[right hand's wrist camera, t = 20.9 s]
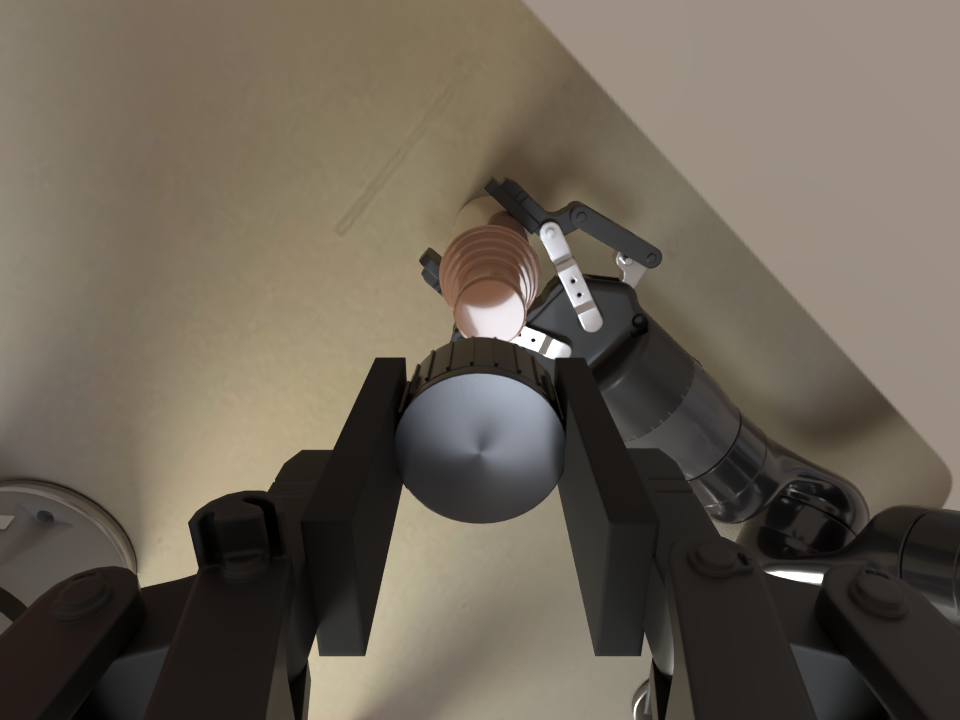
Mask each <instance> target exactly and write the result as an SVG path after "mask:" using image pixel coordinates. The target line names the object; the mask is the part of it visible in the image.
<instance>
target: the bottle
mask: <svg viewBox="0 0 960 720" xmlns="http://www.w3.org/2000/svg"><path fill="white" fill-rule="evenodd" d="M439 281H440V286H441V290H442V293H443V296H444V299H445V301H446V303H447V304H448V306H449V307H450V308H451V310H452V311H453V315H454V320H455V324H456V326H457V328H458V330H459V332H460V333H461V334H462V335H463V336H464V337H465V338H471V336H475V337H489V338H494V337H497V339H500V340H504V341H507V342H510V343H511V342H512V341H513V340H514V339H516V338H517V337H518V336H519V335H520V333H521V332H522V331H523V329H524V327H525V324H526V322H527V321H526V316H527V310H528V309H529V308H530V306H531V305H532V303H533V302H534V300H535V298H536V295H537V292H538V288H539V283H540V265H539V261H538V258H537V255H536V253H535V250H534V248H533V245H532V243H531V240H530V238H529V235H528V233H527V230H526V228H525V227H524V226H523V225H522V224H521V223H520V222H519V221H518V220H516V219H515V218H514V217H513V216H512V215H511V214H510V213H509V212H508V211H507V210H506V209H505V208H504V207H503V206H502V205H501V204H500V203H499V202H497V201H496V200H495V199H494V198H493V197H492V196H483V197H479V198H476V199H474V200H472V201H470V202H469V203H467V204H466V205H465V206H464V207H463V208H462V209H461V210H460V212H459V214H458V215H457V217H456V220H455V223H454V225H453V228H452V231H451V234H450V237H449V240H448V242H447V245H446V248H445V251H444V254H443V257H442V260H441V263H440V269H439Z"/></svg>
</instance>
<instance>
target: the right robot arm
mask: <svg viewBox="0 0 960 720" xmlns="http://www.w3.org/2000/svg"><path fill="white" fill-rule="evenodd" d="M406 383H407V378H406V359H405V358H375V360H374V363H373V365H372V367H371V369H370V371H369V373H368V375H367V378H366V380H365V382H364V384H363V386H362V388H361V391H360V393H359V395H358V397H357V399H356V401H355V404H354V406H353V408H352V410H351V412H350V414H349V417H348V419H347V421H346V423H345V425H344V427H343V429H342V432H341V434H340V436H339V438H338V440H337V442H336V445H335V447H334V449H333V450H301V451H300V452H299V453H298V454H296V455H295V456H294V457H292V458H291V459H290V460H288V461H287V462H286V463H284V465H283V467H282V468H281V470H280V472H279V473H278V475H277V477H276V478H275V482H273V484H272V485H271V487H270V489H269V490H268V492H265V491H241V492H237V493H232V494H227V495H225V496H222V497H220V498H218V499H215V500H213V501H211V502H209V503H208V504H206V505H205V506H203V507H202V508H201V509H199V510H198V511H196V513H195V514H194V515H193V517H192V518H191V519H190V521H189V522H188V524H189V529H190V533H191V537H192V541H193V546H194V550H195V554H196V558H197V563H198V567H199V569H198V572H197V574H195V575H192V576H189V577H186V578H182V579H179V580H175V581H170V582H166V583H161V584H157V585H152V586H148V587H144V588H140V584H139V581H138V577H137V576H136V561H135V556H134V553H133V550H132V547H131V545H130V542H129V540H128V539H127V537H126V535H125V534H124V532H123V531H122V529H121V528H120V527H119V526H118V524H117V523H116V522H115V521H114V520H113V519H112V518H111V517H110V516H109V515H108V514H107V513H106V512H105V511H103V510H102V509H101V508H100V507H98V506H97V505H96V504H94V503H93V502H91V501H89V500H88V499H86V498H84V497H83V496H81V495H79V494H77V493H75V492H72V491H70V490H68V489H65V488H62V487H60V486H56V485H53V484H49V483H44V482H38V481H30V480H13V481H5V482H0V720H307V719H308V708H309V697H310V686H311V677H310V670H309V664H308V656H309V653H310V650H311V647H312V644H313V641H314V638H315V635H316V636H317V642H318V649H319V656H365V654H366V650H367V645H368V641H369V636H370V632H371V627H372V622H373V618H374V613H375V609H376V604H377V600H378V595H379V591H380V586H381V581H382V577H383V572H384V568H385V563H386V559H387V554H388V550H389V545H390V540H391V536H392V531H393V527H394V522H395V518H396V513H397V508H398V504H399V499H400V495H401V490H402V486H403V482H402V480H401V478H400V476H399V474H398V472H397V466H396V451H395V434H394V433H395V428H396V425H397V421H398V418H399V415H398V414H397V412H398V409H399V406H400V403H401V400H402V396H403V393H404V390H405V387H406ZM553 387H554V388H555V390H556V394H557V397H558V401H559V404H560V408H561V411H562V414H563V418H564V422H563V424H564V428H565V432H566V445H565V460H564V470H563V473H562V475H561V478H560V479H559V481H558V483H557V484H558V489H559V493H560V498H561V502H562V507H563V511H564V516H565V521H566V525H567V530H568V534H569V539H570V543H571V548H572V552H573V557H574V562H575V566H576V571H577V575H578V580H579V584H580V589H581V593H582V598H583V603H584V607H585V612H586V616H587V621H588V625H589V630H590V635H591V639H592V644H593V648H594V653H595V656H641V652H642V645H643V638H644V631H645V634H646V637H647V640H648V643H649V646H650V649H651V652H652V656H653V657H652V664H651V670H650V677H649V683H648V689H647V696H646V702H645V709H644V714H648V715H651V712H652V718H653V720H960V631H959V630H958V629H957V628H956V627H955V626H954V625H953V624H952V623H951V622H950V621H949V620H948V619H947V618H946V617H945V616H944V615H943V614H942V613H941V612H940V611H939V610H938V609H937V608H936V607H935V606H934V605H933V604H932V603H930V602H929V601H928V600H927V599H926V598H925V597H924V596H923V595H922V594H921V593H919V592H918V591H917V590H916V589H914V588H913V587H912V586H910V585H909V584H908V583H907V582H905V581H903V580H901V579H899V578H897V577H895V576H893V575H891V574H889V573H887V572H885V571H882V570H879V569H875V568H872V567H869V566H866V565H856V564H842V565H837V566H832V567H831V568H830V569H829V570H828V571H827V572H825V573H824V575H823V579H822V582H821V586H818V585H814V584H809V583H805V582H800V581H796V580H792V579H787V578H783V577H779V576H776V575H772V574H769V573H766V572H764V571H762V568H761V566H760V565H759V563H758V562H757V560H756V559H755V557H754V556H753V555H752V554H751V553H750V552H748V551H747V550H746V549H745V548H743V547H742V546H741V545H739V544H737V543H735V542H733V541H731V540H729V539H726V538H724V537H721V536H720V534H719V533H718V531H717V529H716V528H715V526H714V524H713V523H712V521H711V519H710V517H709V516H708V514H707V512H706V511H705V509H704V507H703V506H702V504H701V502H700V501H699V499H698V497H697V496H696V494H695V493H693V489H692V487H691V486H690V484H689V482H688V481H687V480H686V479H685V475H684V474H683V472H682V470H681V469H680V467H679V465H678V464H677V462H676V461H675V460H673V459H672V458H671V457H669V456H668V455H667V454H665V453H664V452H663V451H661V450H660V449H659V448H626V446H625V444H624V442H623V439H622V437H621V435H620V433H619V431H618V429H617V426H616V424H615V422H614V420H613V418H612V416H611V414H610V411H609V409H608V407H607V405H606V403H605V401H604V398H603V396H602V394H601V392H600V390H599V388H598V385H597V383H596V381H595V379H594V377H593V375H592V373H591V370H590V368H589V366H588V364H587V362H586V360H585V358H555V366H554V385H553Z"/></svg>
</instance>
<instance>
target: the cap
mask: <svg viewBox="0 0 960 720" xmlns="http://www.w3.org/2000/svg"><path fill="white" fill-rule="evenodd" d="M397 414H398V415H399V418H398V421H397V425H396V428H395V433H394V434H395V451H396V466H397V472H398V474H399V476H400V478H401V480H402V482H403V484H404V485H405V487H406V488H407V489H408V491H409V492H410V493H411V494H412V495H413V496H414V497H415V499H417V500H418V501H419V502H420V503H421V504H422V505H424V506H425V507H427V508H428V509H430V510H431V511H433V512H435V513H437V514H439V515H441V516H444V517H446V518H449V519H452V520H456V521H460V522H466V523H477V524H485V523H495V522H501V521H505V520H509V519H512V518H515V517H517V516H520V515H522V514H524V513H526V512H528V511H529V510H531V509H533V508H534V507H536V506H537V505H538V504H539V503H541V502H542V501H543V500H544V499H545V498H546V497H547V496H548V495H549V494H550V493H551V491H552V490H553V489H554V488H555V486H556V484H557V483H558V481H559V479H560V478H561V475H562V473H563V470H564V460H565V445H566V432H565V428H564V424H563V422H564V418H563V414H562V411H561V408H560V404H559V401H558V397H557V394H556V390H555V388H554V387H553V384H552V381H551V378H550V374H549V371H548V370H545V369H544V368H543V366H542V365H541V364H540V363H539V362H538V361H537V360H536V356H535V355H534V354H533V355H531V354H530V353H528V352H527V351H526V350H524V349H522V348H521V347H519V346H518V344H517V343H515V344H512V343H510V342H507V341H504V340H500V339H497V337H494V338H489V337H475V336H471V338H465V339H461V340H457V341H453V340H452V341H450V343H448V344H446V345H444V346H442V347H440V348H438V349H437V350H436V351H434V350H432V351H431V353H430V355H429V356H428V357H427V358H426V359H424V360H423V362H422V363H421V364H420V365H419V364H417V365H416V368H415V372H414V374H413V376H412V378H411V380H410V381H407V383H406V387H405V390H404V393H403V396H402V400H401V403H400V406H399V409H398V412H397Z"/></svg>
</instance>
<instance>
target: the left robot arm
mask: <svg viewBox="0 0 960 720" xmlns="http://www.w3.org/2000/svg"><path fill="white" fill-rule="evenodd" d="M484 189H485V190H486V191H487V192H488V193H489V194H490V195H491V196H492V197H493V198H494V199H495V200H496V201H497V202H499V203H500V204H501V205H502V206H503V207H504V208H505V209H506V210H507V211H508V212H509V213H510V214H511V215H512V216H513V217H514V218H515V219H516V220H518V221H519V222H520V223H521V224H522V225H523V226H524V227H525V228H526V229H527V230H528V231H529V232H530V233H531V234H533V233H534V232H535V233H536V234H537V235H538V236H539V237H540V238H541V240H542V242H543V244H544V246H545V248H546V250H547V252H548V255H549V257H550V259H551V261H552V263H553V265H554V267H555V270H556V272H557V274H558V277H557V276H556V275H555V276H554V277H553V278H552V279H551V280H550V281H549V282H548V283H547V285H546V287H545V288H544V290H543V292H542V293H541V295H540V296H538V297H536V298H535V300H534V302H533V303H532V305H531V306H530V308H529V309H528V310H527V316H526V321H527V322H526V324H525V327H524V329H523V331H522V332H521V333H520V335H519V336H518V337H517V338H516V339H514V340H513V341H512V342H513V343H517V344H518V345H521V346H522V349H524V350H526V351H527V352H528V353H530V354H531V355H533V354H534V355H535V356H536V360H537V361H538V362H539V363H540V364H541V365H542V366H543V368H544V369H545V370H548V371H549V374H550V378H551V381H552V384H553V385H554V366H555V358H585V360H586V362H587V364H588V366H589V368H590V370H591V373H592V375H593V377H594V379H595V381H596V383H597V385H598V388H599V390H600V392H601V394H602V396H603V398H604V401H605V403H606V405H607V407H608V409H609V411H610V414H611V416H612V418H613V420H614V422H615V424H616V426H617V429H618V431H619V433H620V435H621V437H622V439H623V442H624V444H625V446H626V448H659V449H660V450H661V451H663V452H664V453H665V454H667V455H668V456H669V457H671V458H672V459H673V460H675V461H676V462H677V464H678V465H679V467H680V469H681V470H682V472H683V474H684V475H685V479H686V480H687V481H688V482H689V484H690V486H691V487H692V489H693V493H695V494H696V496H697V497H698V499H699V501H700V502H701V504H702V506H703V507H704V509H705V511H706V512H707V514H708V516H709V517H710V519H711V520H712V521H715V522H718V523H722V524H737V523H741V522H744V521H745V523H744V525H743V527H742V529H741V531H740V533H739V535H738V537H737V539H736V541H735V543H737V544H739V545H741V546H742V547H743V548H745V549H746V550H747V551H748V552H750V553H751V554H752V555H753V556H754V557H755V559H756V560H757V562H758V563H759V565H760V566H761V568H762V571H764V572H766V573H769V574H772V575H776V576H779V577H783V578H787V579H792V580H796V581H800V582H805V583H809V584H814V585H818V586H821V582H822V579H823V575H824V573H825V572H827V571H828V570H829V569H830V568H831V567H832V566H837V565H842V564H856V565H866V566H869V567H872V568H875V569H879V570H882V571H885V572H887V573H889V574H891V575H893V576H895V577H897V578H899V579H901V580H903V581H905V582H907V583H908V584H909V585H910V586H912V587H913V588H914V589H916V590H917V591H918V592H919V593H921V594H922V595H923V596H924V597H925V598H926V599H927V600H928V601H929V602H930V603H932V604H933V605H934V606H935V607H936V608H937V609H938V610H939V611H940V612H941V613H942V614H943V615H944V616H945V617H946V618H947V619H948V620H949V621H950V622H951V623H952V624H953V625H954V626H955V627H956V628H957V629H958V630H959V631H960V511H955V510H949V509H940V508H935V507H928V506H920V505H896V506H892V507H888V508H886V509H884V510H882V511H881V512H880V513H878V514H877V515H875V516H874V517H873V518H872V519H871V520H870V514H869V509H868V505H867V503H866V501H865V498H864V497H863V495H862V493H861V492H860V490H859V489H858V488H857V487H856V486H855V485H854V484H853V483H852V482H850V481H849V480H847V479H846V478H844V477H842V476H840V475H839V474H837V473H834V472H832V471H830V470H828V469H826V468H824V467H821V466H819V465H817V464H815V463H813V462H811V461H809V460H807V459H805V458H803V457H801V456H799V455H797V454H796V453H794V452H792V451H790V450H789V449H787V448H785V447H784V446H782V445H780V444H779V443H777V442H775V441H774V440H772V439H771V438H769V437H768V436H766V435H765V434H764V432H763V431H762V430H761V429H759V428H758V427H757V426H756V425H755V424H754V423H753V422H752V421H751V420H750V419H749V418H748V417H747V416H746V415H745V414H744V413H743V412H742V411H741V410H740V409H739V408H738V407H736V405H735V404H734V403H733V402H732V401H731V400H730V399H729V397H728V396H727V395H726V393H725V392H724V390H723V389H722V388H721V387H720V385H719V384H718V383H717V382H716V380H715V379H714V378H713V377H712V376H711V375H710V374H709V373H708V372H707V371H706V370H705V369H704V368H703V367H702V365H701V364H700V363H699V362H698V361H697V360H696V359H695V358H693V357H691V356H690V355H689V354H688V353H687V352H686V351H685V350H684V349H683V348H682V347H681V346H680V345H679V344H678V343H677V342H676V341H675V340H674V339H673V338H672V337H671V336H670V335H669V334H668V333H667V332H666V331H665V330H664V329H663V328H662V327H661V326H659V325H658V324H657V323H656V322H655V321H654V320H653V319H652V318H651V317H650V316H649V315H648V314H647V313H646V312H645V311H644V310H643V309H642V308H641V307H640V305H639V302H638V299H637V295H636V292H635V290H634V289H635V287H636V286H637V284H638V283H639V281H640V280H641V278H642V277H643V275H644V274H645V272H646V271H647V269H648V268H655V267H657V266H658V265H659V264H660V263H661V260H662V254H661V252H660V250H658V249H657V248H656V247H654V246H653V245H651V244H650V243H648V242H647V241H645V240H644V239H642V238H640V237H639V236H637V235H635V234H633V233H632V232H630V231H628V230H627V229H625V228H623V227H622V226H620V225H618V224H617V223H615V222H613V221H612V220H610V219H608V218H606V217H605V216H603V215H601V214H600V213H598V212H596V211H595V210H593V209H591V208H590V207H588V206H586V205H585V204H583V203H581V202H579V201H572V202H570V203H569V204H568V205H567V206H566V207H564V208H562V209H560V210H558V211H555V212H548V211H545V210H544V209H543V208H542V207H541V206H540V205H539V204H538V203H537V202H536V201H534V200H533V199H532V198H531V197H530V196H529V195H528V194H527V193H526V192H525V191H524V190H523V189H522V188H521V187H520V186H519V185H518V184H517V183H516V182H515V181H514V180H512V179H509V178H507V177H505V178H504V179H503V180H502V181H501V183H499V182H498V181H497V180H496V179H494V178H493V177H491V178H490V179H489V180H488V181H487V183H486V184H485V185H484ZM578 228H579V229H581V230H582V231H584V232H586V233H588V234H589V235H591V236H593V237H595V238H596V239H598V240H600V241H601V242H603V243H605V244H607V245H608V246H610V247H612V248H613V249H615V251H614V253H613V261H614V262H615V263H616V265H617V266H618V267H619V268H620V276H619V278H614V277H606V276H597V275H588V274H581V272H580V269H579V267H578V265H577V263H576V261H575V259H574V257H573V255H572V253H571V251H570V248H569V246H568V244H567V242H566V240H565V237H564V235H566V234H568V233H570V232H572V231H574V230H576V229H578ZM441 260H442V257H441V256H440V255H439V254H438V253H437V252H435V251H434V250H433V249H432V248H428V249H427V250H426V251H425V252H424V254H423V255H422V256H421V258H420V260H419V262H420V263H421V264H422V266H423V267H424V269H423V271H422V273H421V274H422V276H423V278H424V280H425V281H426V282H427V283H428V284H429V285H430V286H431V287H432V288H434V289H435V290H436V291H437V292H438V293H439V294H440V295H442V296H443V293H442V290H441V286H440V281H439V269H440V263H441ZM443 297H444V296H443ZM461 339H465V337H464V336H463V335H462V334H461V333H460V332H459V330H458V328H457V326H456V324H454V326H453V334H452V338H451V341H452V340H453V341H457V340H461ZM648 683H649V681H648V682H647V683H646V684H644V685H643V686H642V687H641V688H640V689H639V690H638V692H637V693H636V695H635V697H634V699H633V703H632V712H633V716H634V720H653V718H652V712H651V715H648V714H644V709H645V702H646V696H647V689H648Z"/></svg>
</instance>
